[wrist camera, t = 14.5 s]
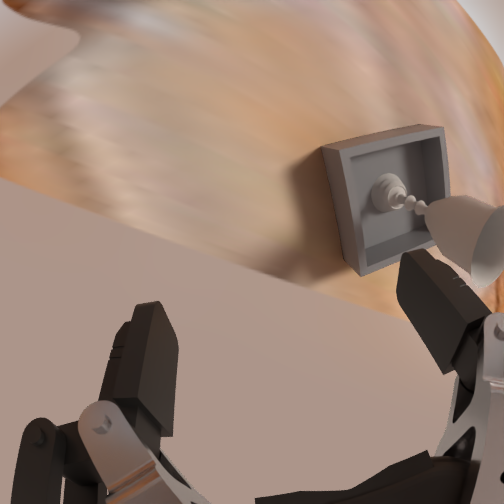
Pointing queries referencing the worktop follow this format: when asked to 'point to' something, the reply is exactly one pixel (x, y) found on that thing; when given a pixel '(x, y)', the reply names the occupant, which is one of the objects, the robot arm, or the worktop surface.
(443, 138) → the box
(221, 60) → the worktop surface
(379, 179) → the chalice
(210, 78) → the worktop surface
